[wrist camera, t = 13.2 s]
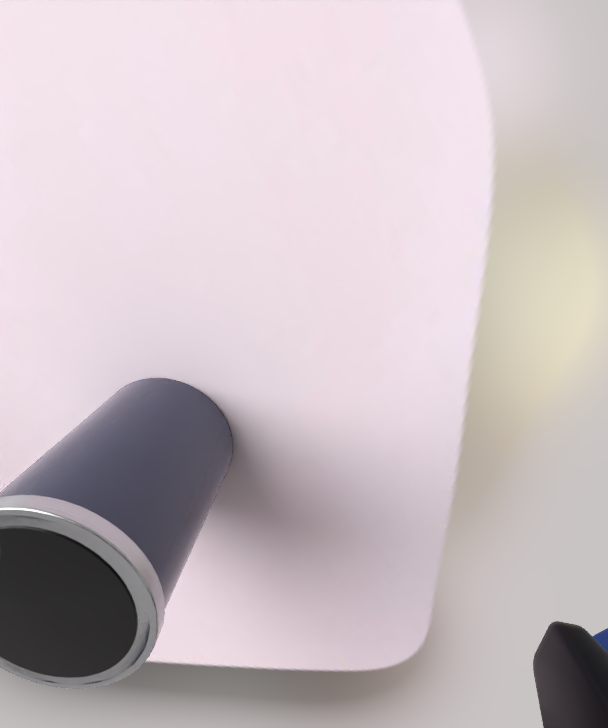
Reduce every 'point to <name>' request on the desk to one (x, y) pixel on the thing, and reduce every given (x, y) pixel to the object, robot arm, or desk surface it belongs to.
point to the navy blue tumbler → (106, 534)
